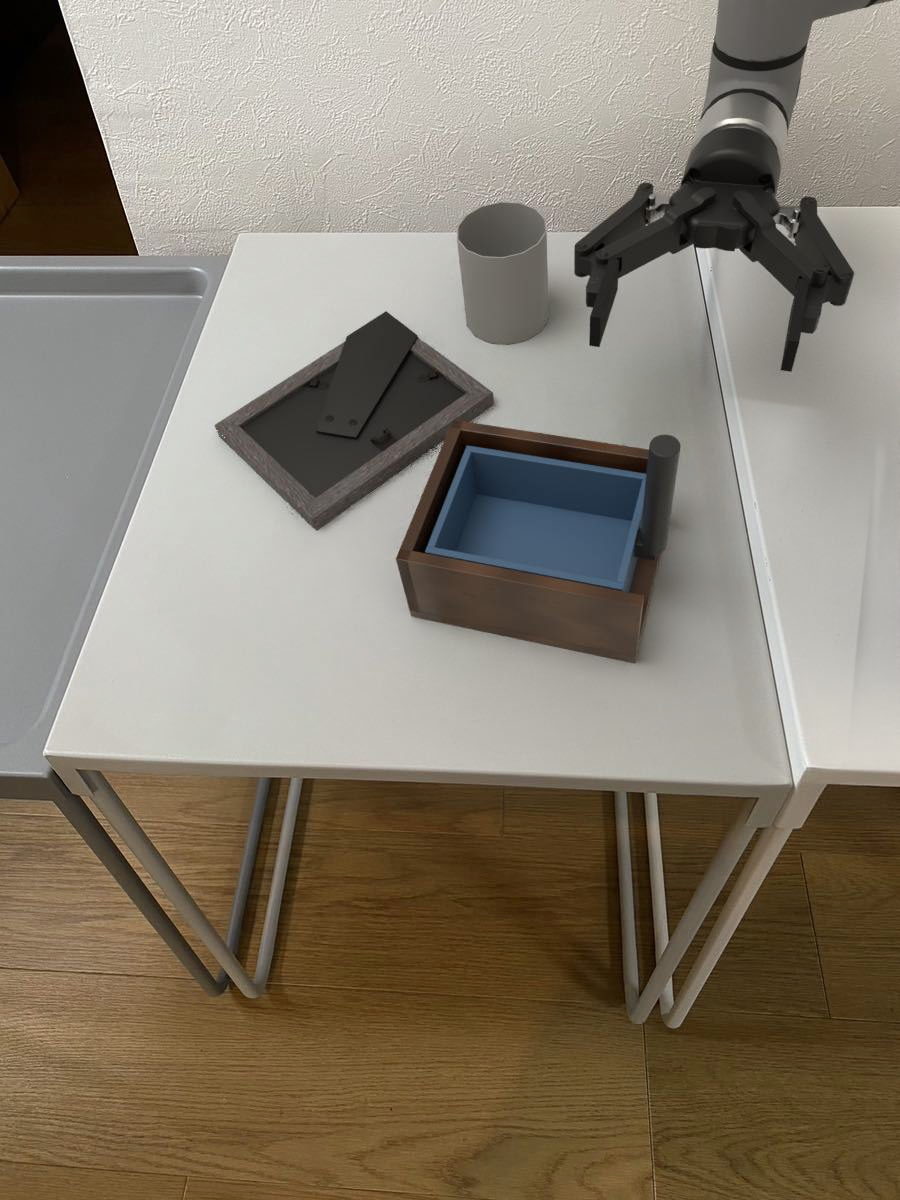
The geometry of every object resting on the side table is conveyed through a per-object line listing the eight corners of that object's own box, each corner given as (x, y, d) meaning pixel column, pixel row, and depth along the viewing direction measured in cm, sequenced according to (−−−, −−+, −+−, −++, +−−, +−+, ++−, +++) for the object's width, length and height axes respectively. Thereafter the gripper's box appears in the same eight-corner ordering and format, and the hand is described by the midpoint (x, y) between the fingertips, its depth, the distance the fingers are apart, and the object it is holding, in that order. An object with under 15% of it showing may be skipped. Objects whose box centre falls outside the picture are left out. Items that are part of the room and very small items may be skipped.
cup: (457, 340, 93) (446, 254, 85) (475, 286, 97) (467, 200, 89) (541, 347, 91) (538, 260, 83) (555, 292, 95) (554, 204, 87)
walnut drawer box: (668, 517, 78) (677, 453, 71) (634, 663, 71) (641, 606, 64) (462, 483, 83) (452, 419, 76) (410, 616, 75) (395, 558, 69)
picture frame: (389, 326, 95) (219, 436, 89) (386, 310, 93) (212, 421, 87) (493, 404, 88) (315, 530, 81) (492, 388, 86) (310, 516, 80)
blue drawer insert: (673, 526, 76) (694, 388, 63) (648, 639, 71) (665, 512, 58) (472, 492, 80) (454, 356, 68) (434, 595, 75) (406, 468, 62)
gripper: (882, 222, 76) (862, 407, 66) (582, 195, 82) (521, 361, 72) (910, 134, 70) (893, 323, 60) (584, 113, 76) (516, 280, 66)
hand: (689, 344), depth 66 cm, fingers open, 13 cm apart
